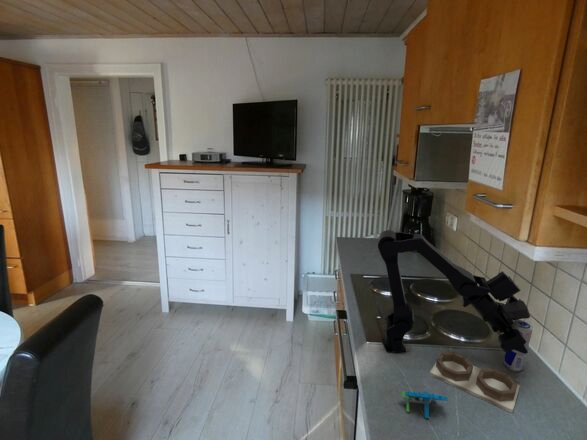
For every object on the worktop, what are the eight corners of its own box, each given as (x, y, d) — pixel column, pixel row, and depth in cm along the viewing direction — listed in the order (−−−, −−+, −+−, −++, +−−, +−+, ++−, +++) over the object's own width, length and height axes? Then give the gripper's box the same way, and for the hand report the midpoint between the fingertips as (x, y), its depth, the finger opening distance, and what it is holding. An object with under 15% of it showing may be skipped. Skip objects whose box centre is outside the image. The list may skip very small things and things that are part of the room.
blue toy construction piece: (446, 395, 92) (447, 393, 84) (447, 421, 89) (449, 421, 81) (402, 390, 96) (400, 387, 87) (402, 414, 93) (400, 413, 85)
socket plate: (429, 374, 101) (430, 365, 100) (441, 355, 109) (443, 346, 108) (512, 413, 88) (514, 402, 87) (519, 388, 96) (521, 377, 95)
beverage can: (513, 360, 107) (523, 318, 103) (526, 371, 102) (537, 328, 98) (499, 362, 106) (508, 319, 102) (511, 373, 102) (521, 330, 97)
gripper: (524, 310, 90) (564, 354, 90) (504, 278, 107) (537, 315, 107) (485, 331, 94) (523, 373, 94) (472, 297, 111) (504, 332, 112)
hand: (522, 346), depth 102 cm, fingers open, 6 cm apart
